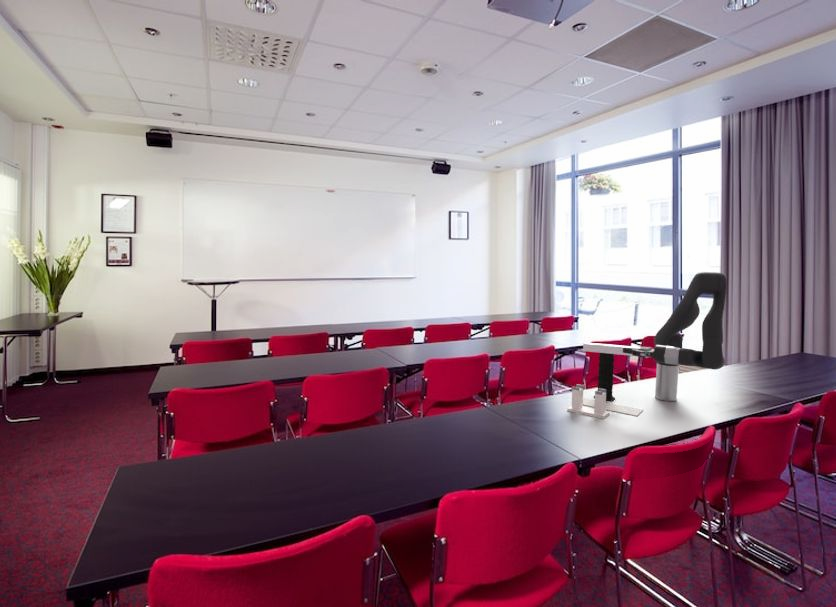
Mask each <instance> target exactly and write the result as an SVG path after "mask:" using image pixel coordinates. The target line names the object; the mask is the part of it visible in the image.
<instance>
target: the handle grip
mask: <svg viewBox="0 0 836 607" xmlns="http://www.w3.org/2000/svg"><path fill="white" fill-rule="evenodd" d="M598 354H599V355H598V356H599V357H598V377H597V390H596V391H599V388H601V389H606V401H611V402H615V401H616V400H615V399H616V398H615V396H613V389H614V387H613V386H614V384H613V383H614V369H615V368H614V367H615V366H614V365H615V354H609V353H599V352H598ZM593 398H594V399H595V395H594V396H593ZM614 400H615V401H614Z"/></svg>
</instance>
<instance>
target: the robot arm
mask: <svg viewBox="0 0 836 607" xmlns="http://www.w3.org/2000/svg"><path fill="white" fill-rule="evenodd" d="M726 294H727V278H726V276H725V274H724V273H722V272H713V271H701V272H698V273H696V274H695V275H694V276H693V278H692V280H691V282H690V284H689V285H688V288H687V289H686V292H685V293H684V295H683V297H682V298H681V300H680V302H679V303H678V304H677V306H676V307H675V309H674V310H673V312H672V313H671V315H670V316H669V318H668V319H667V320H666V322H665V323H664V325H662V327H661V328H660V329H659V330H658V331H657V333H655V337H654V340H653V344H654V348H653V347H651V346H640V345H639V346H638V347H640V348H638V349H630V348H623V353H628V354H632V355H633V356H632V357H638V358H645V359H648V358H653V362H654V363H656V375H655V390H654V391H655V394H654V398H655V397H656V398H655V399H658V400H660V401H665V402H675V401H677V394H678V381H679V368H680V366H686V367H696V368H697V367H698V368H702V369H709V370H713V371H714V370H720V369H721V368H723V367H724V365H725V363H726V360H725V357H724V356H723V355H724V354H723V343H724V332H723V331H724V330H723V329H724V327H723V323H724V322H723V320H724V311H725V306H726V305H725V303H726V296H727V295H726ZM702 295H710V296H711V295H712V298H713V300H712V305H711V307H710V309H709V310H708V313H707V314H706V316H705V317H704V319H703V320H702V325H701V332H702V333H701V335H702V336H701V337H702V338H701V339H702V350H696V349H691V348H682V347H683V337H682V334H681V333H680V332H682V331H684V330H686V329H687V328H689V327H691V326H692V325H693V324H694V323H695V321H696V320H697V319H698V317H699V315H700V314H701V313H700V305H699V303H698V299H699V297H701V296H702ZM635 352H637V353H635Z"/></svg>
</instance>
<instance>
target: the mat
mask: <svg viewBox="0 0 836 607" xmlns="http://www.w3.org/2000/svg"><path fill="white" fill-rule="evenodd" d="M585 405H586V406H587V407H590V406H591V407H590V408H594V406H595V399H592V398H587V397H583V406H585ZM586 406H585V407H586ZM605 409H606V410H605V411H609V410H610V411H609V412H614V411H615V413H618V412H620V413H619V414H623V413H624V415H628V414H629V416H632V415H633V417H638V416H640V414H641V413H643V411H644V409H643V408H642V409H641V408H638V407H633V406H632V407H631V406H627V405H623V404H617V403H612V402H606V408H605Z"/></svg>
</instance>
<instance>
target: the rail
mask: <svg viewBox="0 0 836 607" xmlns="http://www.w3.org/2000/svg"><path fill="white" fill-rule="evenodd" d="M582 347H583V348H582V351H583V352H590V353H598V354H599V353H609V354H614V355H619V356H620V355H622V356H623V355H624V356H632V357H634V356H633V355H632V354H628V353H623V348H630V349H638V348H640V347H641V346H640V347H639V346H631V345H619V344H607V343H596V342H595V343H594V342H583V344H582ZM635 353H637V352H635Z"/></svg>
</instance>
